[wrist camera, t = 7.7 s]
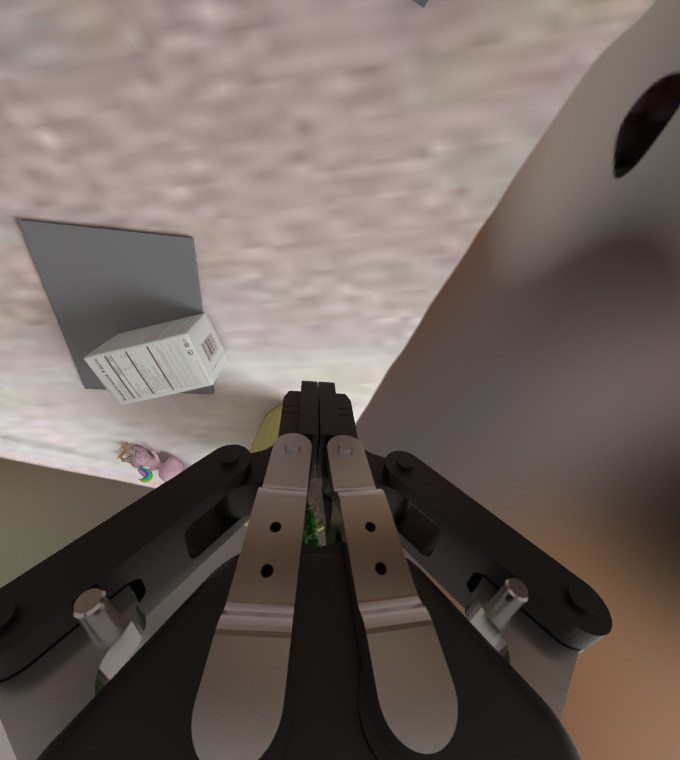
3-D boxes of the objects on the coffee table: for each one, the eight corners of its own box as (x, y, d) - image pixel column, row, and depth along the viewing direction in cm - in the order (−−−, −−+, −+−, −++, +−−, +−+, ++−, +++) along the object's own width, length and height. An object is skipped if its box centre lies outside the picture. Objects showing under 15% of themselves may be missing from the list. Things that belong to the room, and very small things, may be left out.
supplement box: (229, 359, 43) (146, 377, 44) (206, 310, 39) (116, 331, 40) (214, 387, 37) (118, 408, 37) (186, 332, 33) (79, 357, 33)
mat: (22, 219, 33) (17, 220, 32) (193, 237, 35) (191, 238, 35) (87, 386, 44) (85, 388, 44) (213, 392, 46) (212, 394, 46)
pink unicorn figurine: (126, 453, 53) (205, 487, 56) (100, 477, 48) (189, 514, 51) (134, 429, 51) (216, 466, 53) (107, 452, 46) (200, 492, 48)
